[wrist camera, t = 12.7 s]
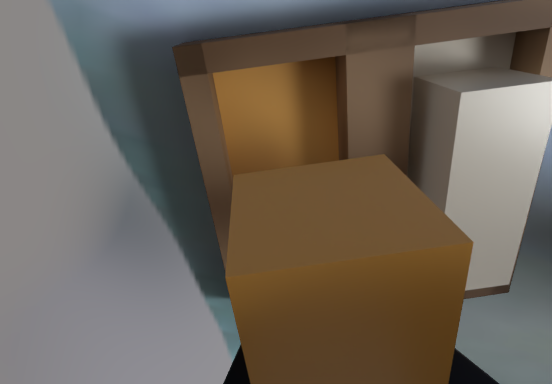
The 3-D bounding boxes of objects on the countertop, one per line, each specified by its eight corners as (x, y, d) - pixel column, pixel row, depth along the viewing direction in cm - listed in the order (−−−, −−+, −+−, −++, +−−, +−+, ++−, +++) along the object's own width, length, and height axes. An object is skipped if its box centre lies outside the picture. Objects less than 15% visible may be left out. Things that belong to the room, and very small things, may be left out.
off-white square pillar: (414, 76, 15) (461, 92, 11) (495, 66, 15) (563, 79, 11) (401, 248, 19) (433, 295, 16) (465, 240, 19) (509, 284, 16)
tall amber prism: (233, 174, 8) (224, 277, 5) (384, 154, 8) (474, 242, 5) (278, 408, 12) (289, 546, 9) (377, 394, 12) (423, 525, 9)
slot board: (481, 263, 21) (508, 292, 18) (240, 299, 20) (239, 332, 18) (534, -4, 14) (585, -8, 12) (183, 42, 14) (172, 47, 12)
